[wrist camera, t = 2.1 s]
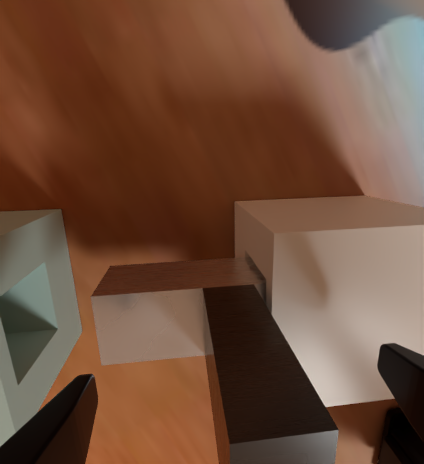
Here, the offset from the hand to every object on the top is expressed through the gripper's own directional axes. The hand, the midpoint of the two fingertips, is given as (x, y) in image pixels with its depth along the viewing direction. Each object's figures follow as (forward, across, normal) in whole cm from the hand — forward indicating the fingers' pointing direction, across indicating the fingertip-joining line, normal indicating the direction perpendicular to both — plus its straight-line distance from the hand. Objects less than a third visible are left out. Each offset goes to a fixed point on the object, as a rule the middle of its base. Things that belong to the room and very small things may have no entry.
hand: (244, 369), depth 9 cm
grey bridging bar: (+6, -2, 0) cm, 6 cm away
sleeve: (+9, -5, 0) cm, 10 cm away
